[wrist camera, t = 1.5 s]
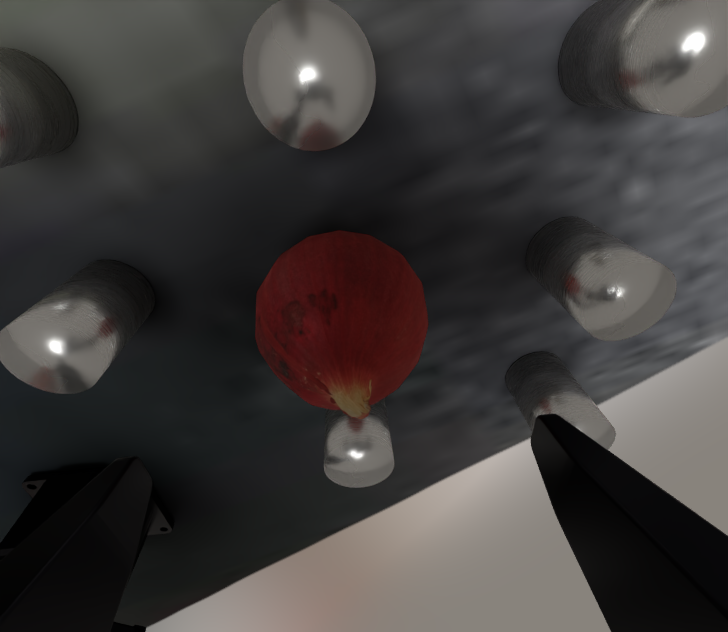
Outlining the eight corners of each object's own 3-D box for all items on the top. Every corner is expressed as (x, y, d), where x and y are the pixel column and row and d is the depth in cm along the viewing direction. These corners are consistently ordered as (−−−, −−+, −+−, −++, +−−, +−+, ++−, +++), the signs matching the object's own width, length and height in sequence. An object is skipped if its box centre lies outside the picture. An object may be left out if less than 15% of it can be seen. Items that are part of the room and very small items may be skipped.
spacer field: (556, 392, 21) (604, 462, 17) (155, 432, 21) (114, 512, 17) (664, -9, 12) (819, -49, 8) (-51, 52, 12) (-242, 40, 8)
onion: (270, 322, 17) (229, 478, 11) (272, 195, 14) (217, 300, 8) (395, 332, 18) (430, 484, 11) (421, 213, 15) (491, 324, 8)
